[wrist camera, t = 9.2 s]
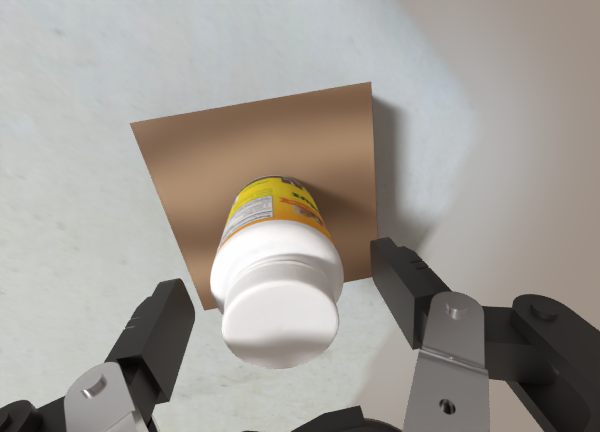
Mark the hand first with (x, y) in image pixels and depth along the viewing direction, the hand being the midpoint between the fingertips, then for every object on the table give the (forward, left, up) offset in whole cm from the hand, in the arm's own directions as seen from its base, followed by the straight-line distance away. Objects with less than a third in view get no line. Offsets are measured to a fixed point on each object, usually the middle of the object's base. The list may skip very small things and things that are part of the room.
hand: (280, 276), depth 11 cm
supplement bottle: (0, 0, -8) cm, 8 cm away
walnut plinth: (0, 0, -12) cm, 12 cm away
